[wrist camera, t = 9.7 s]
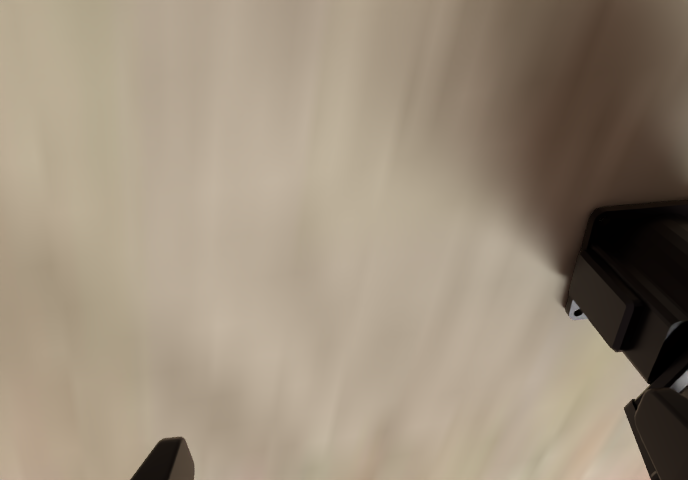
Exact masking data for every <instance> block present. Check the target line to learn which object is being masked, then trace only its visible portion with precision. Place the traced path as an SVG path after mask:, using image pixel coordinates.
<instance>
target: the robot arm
mask: <svg viewBox="0 0 688 480" xmlns="http://www.w3.org/2000/svg"><path fill="white" fill-rule="evenodd" d="M604 216H605V217H604ZM602 217H604V219H603V220H601V221H599V220H600V219H601V218H602ZM577 309H578V310H577ZM565 311H566V313H567V314H568V316H569V317H570V318H571V319H573V320H581V319H589V321H590V322H591V323H592V325H593V326H594V327H595V328H596V330H597V331H598V332H599V334H600V335H601V336H602V337H603V339H604V340H605V341H606V343H607V344H608V345H609V346H610V348H612V349H613V350H614V351H615V352H623V353H624V354H625V356H626V357H627V358H628V359H629V361H630V362H631V363H632V364H633V366H634V367H635V368H636V369H637V371H638V372H639V373H640V374H641V376H642V377H643V378H644V379H645V381H646V382H647V383H648V384H650V385H649V386H648V387H647V388H646V389H645V390H644V391H643V392H642V393H641V394H640V395H639V396H638V397H637V399H632V400H631V401H630V402H629V403H628V404H627V405H626V406H625V407H624V410H625V413H626V415H627V418H628V421H629V423H630V426H631V428H632V431H633V434H634V436H635V439H636V442H637V444H638V447H639V449H640V452H641V455H642V457H643V460H644V463H645V465H646V468H647V470H648V473H649V476H650V478H651V480H688V200H680V201H668V202H657V203H645V204H633V205H621V206H610V207H601V208H598V209H596V210H594V211H593V212H592V213H591V215H590V217H589V220H588V224H587V228H586V232H585V236H584V240H583V243H582V247H581V251H580V253H579V254H578V258H577V261H576V265H575V269H574V273H573V277H572V281H571V285H570V288H569V297H568V301H567V304H566V308H565ZM130 480H194V462H193V459H192V456H191V453H190V451H189V448H188V446H187V443H186V441H185V439H184V438H183V437H172V438H164V439H162V440H160V441H159V442H158V443H157V445H156V446H155V447H154V449H153V450H152V451H151V453H150V454H149V455H148V457H147V458H146V459H145V461H144V462H143V463H142V465H141V466H140V467H139V469H138V470H137V471H136V473H135V474H134V475H133V477H132V478H131V479H130Z"/></svg>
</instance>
